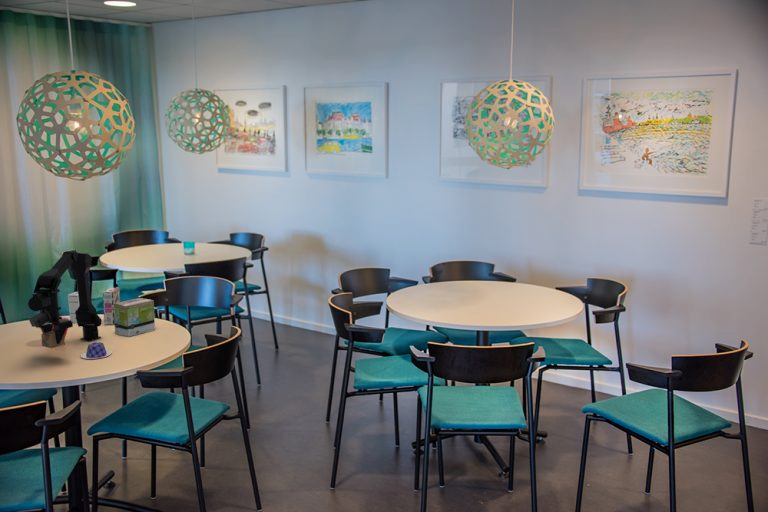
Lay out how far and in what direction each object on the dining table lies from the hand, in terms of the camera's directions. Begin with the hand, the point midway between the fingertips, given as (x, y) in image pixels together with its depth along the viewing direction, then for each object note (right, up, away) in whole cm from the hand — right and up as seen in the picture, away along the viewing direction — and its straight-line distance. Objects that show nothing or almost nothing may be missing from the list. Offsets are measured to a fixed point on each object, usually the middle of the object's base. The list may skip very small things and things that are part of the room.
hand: (53, 342), depth 277 cm
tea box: (+18, -1, +41) cm, 45 cm away
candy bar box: (+1, +2, +57) cm, 57 cm away
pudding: (+15, -7, +7) cm, 17 cm away
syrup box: (-16, +3, +58) cm, 60 cm away
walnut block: (0, -1, 0) cm, 1 cm away
